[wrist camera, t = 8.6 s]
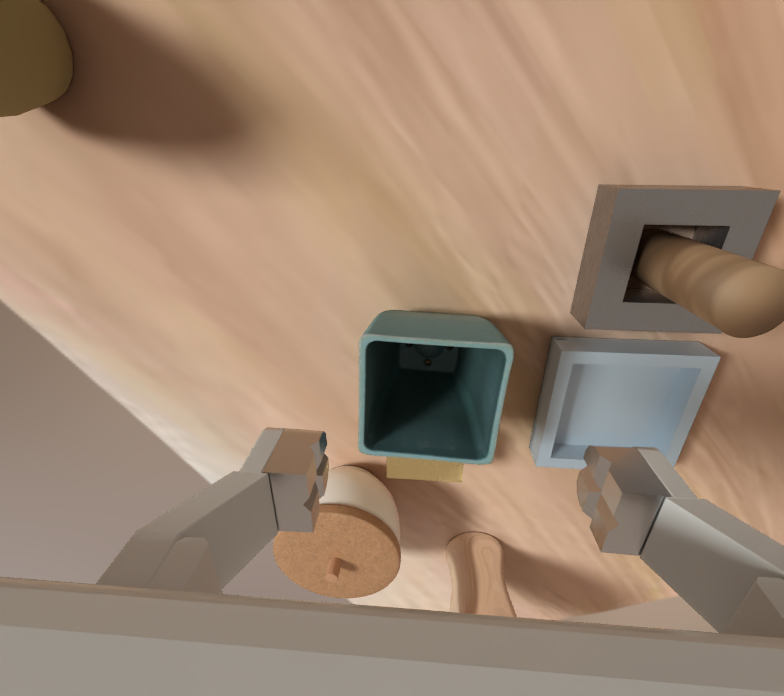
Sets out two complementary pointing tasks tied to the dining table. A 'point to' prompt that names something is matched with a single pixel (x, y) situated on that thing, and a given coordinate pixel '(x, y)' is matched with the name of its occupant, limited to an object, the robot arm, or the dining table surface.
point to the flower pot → (432, 386)
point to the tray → (618, 397)
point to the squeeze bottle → (31, 57)
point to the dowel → (712, 283)
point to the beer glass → (478, 576)
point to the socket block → (621, 239)
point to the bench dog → (424, 469)
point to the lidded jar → (345, 539)
